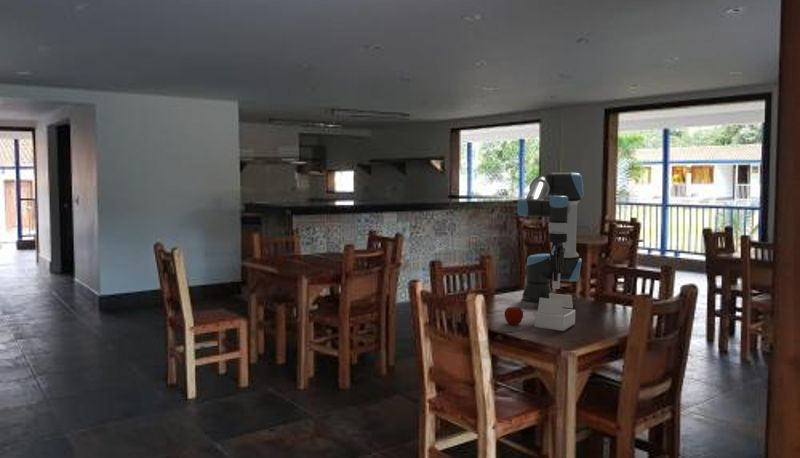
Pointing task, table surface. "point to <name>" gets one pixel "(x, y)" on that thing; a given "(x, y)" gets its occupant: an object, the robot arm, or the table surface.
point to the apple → (513, 315)
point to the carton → (555, 320)
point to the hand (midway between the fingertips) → (556, 288)
